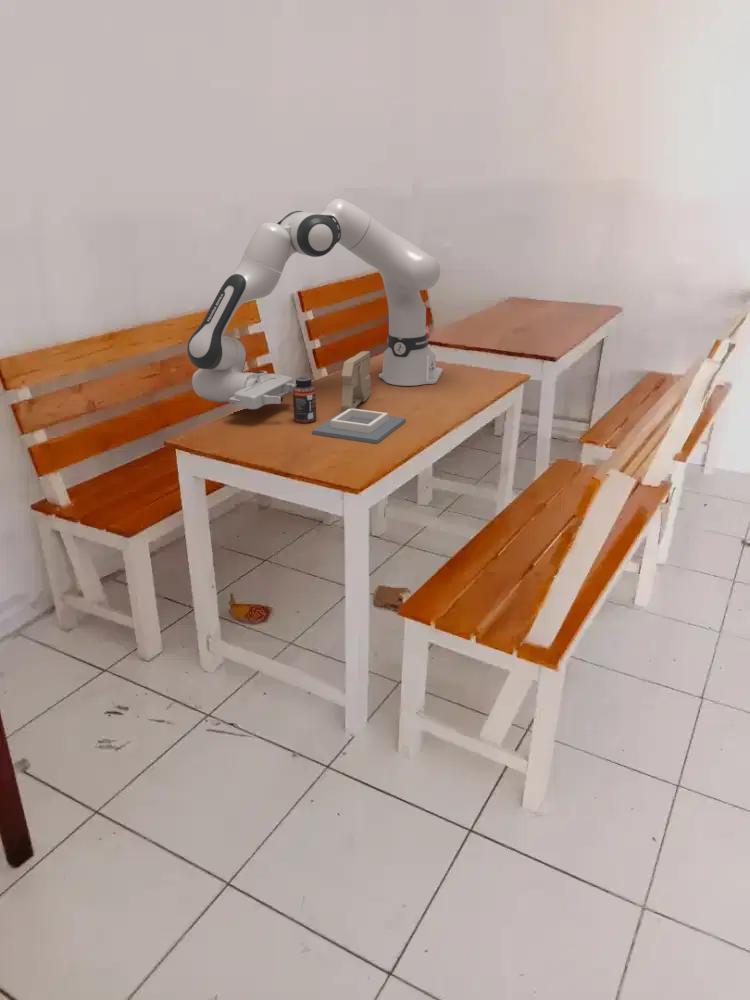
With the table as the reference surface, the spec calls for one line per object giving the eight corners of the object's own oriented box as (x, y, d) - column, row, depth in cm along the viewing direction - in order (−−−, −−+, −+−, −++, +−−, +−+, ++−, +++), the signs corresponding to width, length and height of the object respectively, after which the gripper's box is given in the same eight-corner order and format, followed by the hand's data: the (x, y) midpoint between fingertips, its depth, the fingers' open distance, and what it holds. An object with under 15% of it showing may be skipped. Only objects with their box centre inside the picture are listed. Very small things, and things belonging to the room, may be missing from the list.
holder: (344, 413, 213) (344, 402, 212) (405, 421, 206) (405, 410, 205) (312, 434, 198) (311, 422, 197) (377, 443, 191) (377, 432, 190)
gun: (352, 421, 208) (351, 364, 203) (340, 420, 209) (339, 364, 204) (371, 402, 231) (371, 350, 226) (360, 401, 231) (360, 350, 226)
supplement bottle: (317, 423, 206) (316, 381, 202) (295, 424, 205) (292, 382, 201) (315, 415, 212) (313, 374, 207) (293, 417, 211) (291, 376, 206)
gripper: (223, 388, 203) (268, 394, 198) (265, 368, 220) (308, 373, 215) (225, 411, 206) (270, 418, 200) (267, 390, 223) (309, 396, 217)
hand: (290, 395), depth 208 cm, fingers open, 8 cm apart
